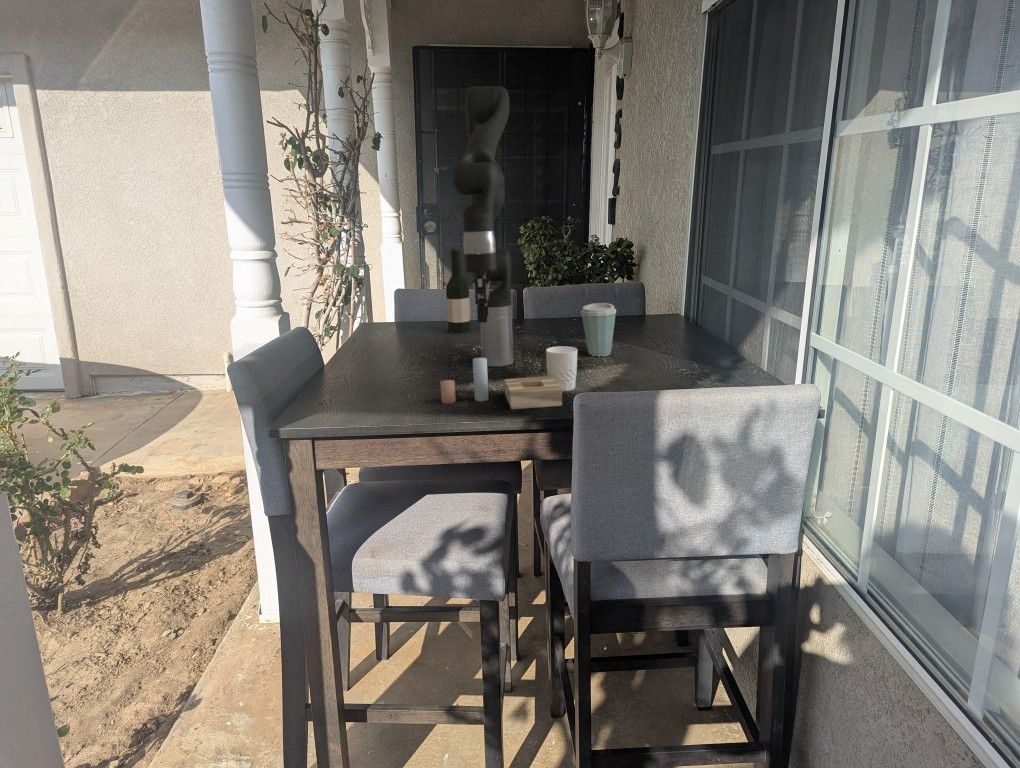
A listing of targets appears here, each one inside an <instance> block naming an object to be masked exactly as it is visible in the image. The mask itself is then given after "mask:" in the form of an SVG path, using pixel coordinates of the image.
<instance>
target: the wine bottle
mask: <svg viewBox="0 0 1020 768" xmlns="http://www.w3.org/2000/svg"><path fill="white" fill-rule="evenodd" d="M451 249H452V250H450V258H451V276H450V278H449V280H448V282H447V284H446V286H445V292H446V293H445V294H446V307H447V308H446V310H447V311H446V312H447V326H448V327H447V328H448V333H449V332H453V333H463V332H468V331H470V330H471V331H472V323H471V303H470V301H471V300H470V285H469V282H468V281H467V280H466V278H465V276H463V273H462V261H461V260H462V259H461V258H462V257H461V255H462V254H461V249H460V247H451Z"/></svg>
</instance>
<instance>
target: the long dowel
mask: <svg viewBox="0 0 1020 768" xmlns="http://www.w3.org/2000/svg"><path fill="white" fill-rule="evenodd" d="M472 373H473V391H474V393H473V394H474V401H476V402H485V401H488V400H490V399H489V383H488V382H489V380H488V377H489V376H488V366H487V359H486V358H482V357H474V358H472Z"/></svg>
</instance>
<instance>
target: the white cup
mask: <svg viewBox="0 0 1020 768" xmlns="http://www.w3.org/2000/svg"><path fill="white" fill-rule="evenodd" d="M545 355H546V357H545V358H546V359H545V360H546V371H547V377H551V376H553V378H554V379H555V380H556V382H557V383H558V384H559V386H560V387H561V388H562V392H570V391H573V390H575V389H576V386H577V384H576V383H577V382H576V380H577V379H576V378H577V370H578V348H576V347H574V346H561V345H559V346H552V347H547V348H546V349H545Z"/></svg>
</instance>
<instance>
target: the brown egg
mask: <svg viewBox="0 0 1020 768" xmlns="http://www.w3.org/2000/svg"><path fill="white" fill-rule="evenodd" d="M440 394H441V395H440V396H441V403H442V404H447V405H449V404H454V403H456V402H457V401H456V383H455V380H454V379H444V380H441V381H440Z"/></svg>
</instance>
